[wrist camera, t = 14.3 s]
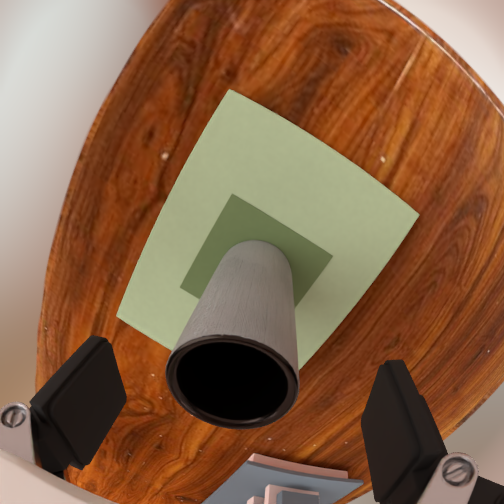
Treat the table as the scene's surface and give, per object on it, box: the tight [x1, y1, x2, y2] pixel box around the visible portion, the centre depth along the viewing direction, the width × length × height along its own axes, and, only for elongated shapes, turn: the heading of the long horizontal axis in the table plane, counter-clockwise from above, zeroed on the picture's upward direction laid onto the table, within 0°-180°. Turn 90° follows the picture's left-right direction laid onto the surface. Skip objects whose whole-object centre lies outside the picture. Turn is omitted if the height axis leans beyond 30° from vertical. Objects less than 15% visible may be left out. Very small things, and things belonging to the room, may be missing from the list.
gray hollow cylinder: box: [165, 240, 299, 429], centre depth 14 cm, size 4×4×10 cm
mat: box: [116, 89, 419, 370], centre depth 19 cm, size 18×14×1 cm
